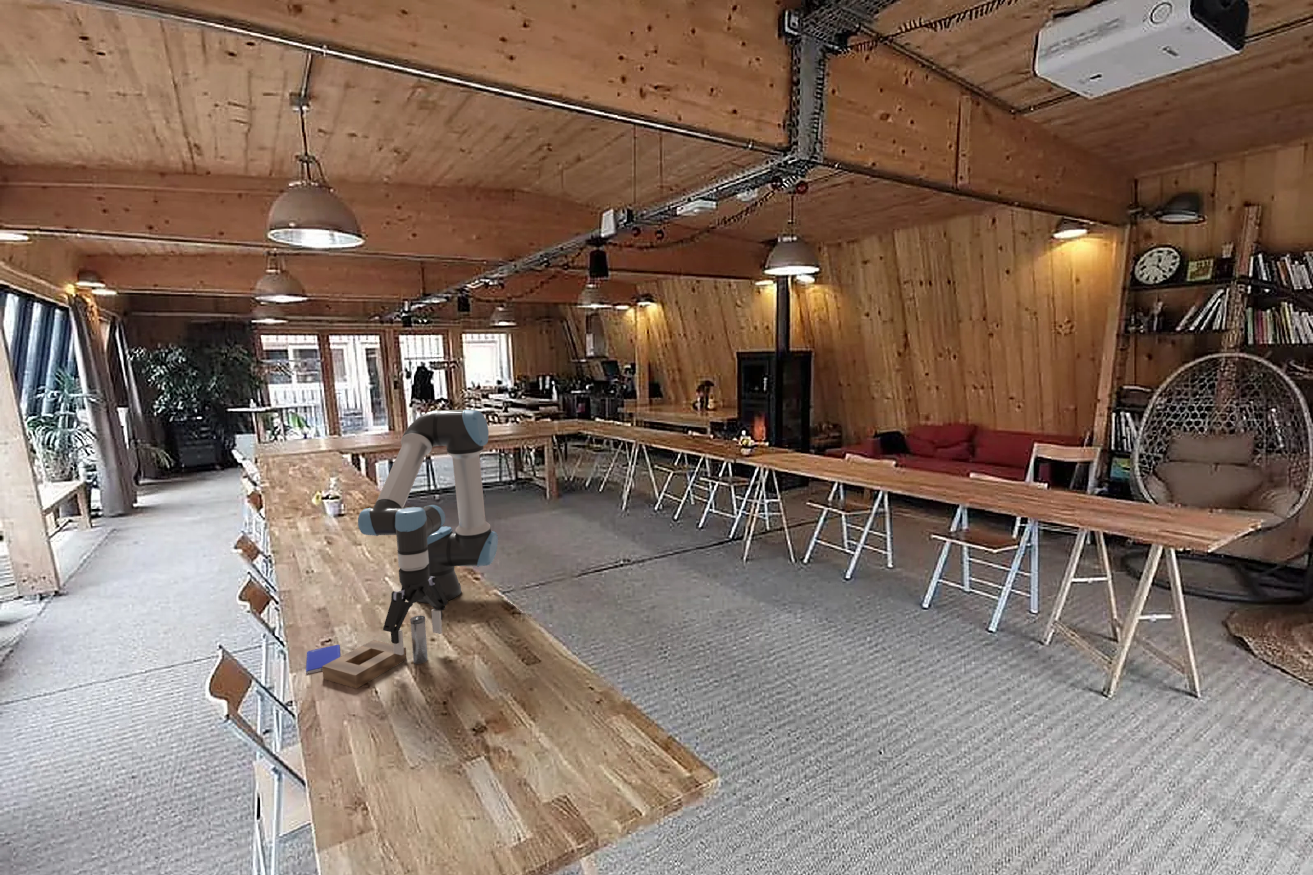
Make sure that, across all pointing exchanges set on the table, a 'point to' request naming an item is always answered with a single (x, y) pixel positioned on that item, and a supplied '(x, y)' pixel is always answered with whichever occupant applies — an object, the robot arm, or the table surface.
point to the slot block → (362, 664)
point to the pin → (419, 639)
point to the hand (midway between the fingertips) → (418, 643)
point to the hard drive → (321, 658)
